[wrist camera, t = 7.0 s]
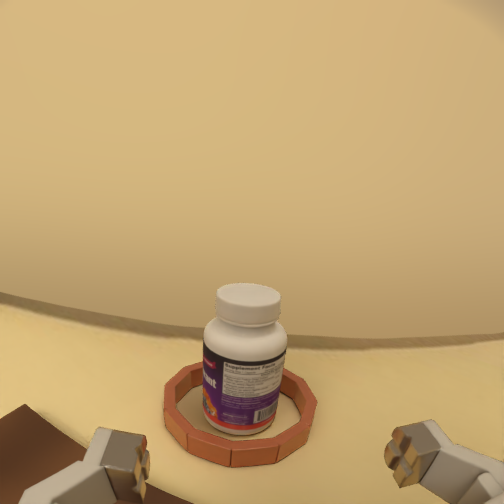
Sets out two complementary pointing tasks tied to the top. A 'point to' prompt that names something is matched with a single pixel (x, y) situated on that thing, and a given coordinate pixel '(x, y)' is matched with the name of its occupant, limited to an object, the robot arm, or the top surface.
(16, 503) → the board
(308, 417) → the ring
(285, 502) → the top surface
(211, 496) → the top surface
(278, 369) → the pill bottle
